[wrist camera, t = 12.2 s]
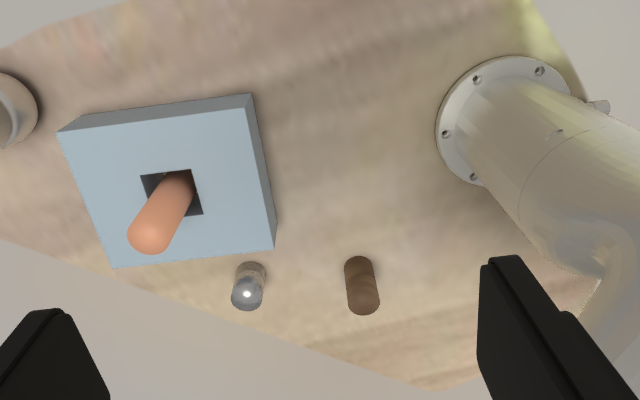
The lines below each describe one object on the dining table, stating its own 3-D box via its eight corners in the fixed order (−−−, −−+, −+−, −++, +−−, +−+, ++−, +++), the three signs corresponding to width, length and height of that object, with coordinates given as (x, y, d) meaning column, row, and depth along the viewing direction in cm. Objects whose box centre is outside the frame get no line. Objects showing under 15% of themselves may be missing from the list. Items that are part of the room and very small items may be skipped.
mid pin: (371, 254, 49) (378, 288, 44) (373, 277, 51) (380, 313, 46) (342, 257, 50) (346, 292, 44) (345, 280, 51) (349, 317, 46)
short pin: (262, 259, 49) (258, 285, 45) (267, 282, 51) (264, 309, 47) (234, 263, 50) (227, 288, 46) (240, 285, 51) (234, 312, 47)
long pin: (198, 156, 44) (163, 216, 33) (206, 185, 45) (174, 252, 35) (166, 160, 44) (120, 221, 33) (175, 189, 45) (134, 257, 35)
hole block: (251, 92, 41) (244, 107, 36) (277, 223, 47) (274, 249, 43) (82, 115, 42) (55, 132, 37) (130, 241, 48) (112, 268, 44)
